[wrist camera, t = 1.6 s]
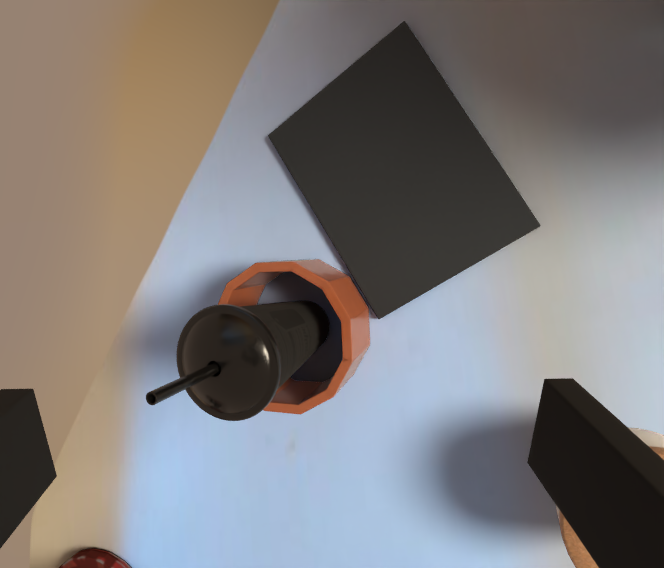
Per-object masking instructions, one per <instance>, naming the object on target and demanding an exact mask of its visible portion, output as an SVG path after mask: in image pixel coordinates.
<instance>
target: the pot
mask: <svg viewBox="0 0 664 568" xmlns="http://www.w3.org/2000/svg"><path fill="white" fill-rule="evenodd" d="M288 271H292V272H293V273H295V274H297V275H298V276H300V277H302V278H304V279H305V280H307V281H309V282H310V283H312V284H314V285H315V286H317V287H319V288H321V289H322V290H323V292H324V294H325V295H326V297H327V299H328V300H329V302H330V304H331V305H332V307H333V309H334V311H335V312H336V314H337V316H338V317H339V319H340V321H341V331H342V355H343V359H342V361H341V363H340V365H339V367H338V369H337V370H336V372H335V374H334V376H333V377H331V378H329V379H327V380H325V381H324V382H314V381H300V380H293V379H292V378H289V379H288V380H287V381H286V382H285V383H284V384H283V385H282V386H281V387H280V388H279V389H278V390H277V392H276V394H275V396H274V398H273V399H272V401H271V402H270V403H269V404H268V406H267V407H265V408H264V409H263V410H264V411H272V412H282V413H292V414H302V413H304V412H306V411H308V410H310V409H312V408H314V407H316V406H317V405H319V404H321V403H323V402H325V401H327V400H329V399H331V398H333V397H334V396H335V395H336V394H337V393H338V391H339V390H340V389H341V388H342V387H343V386H344V385H345V384H346V383H347V381H348V380H349V379H350V378H351V377H352V376H353V375H354V373H355V371H356V369H357V368H358V366H359V364H360V362H361V360H362V359H363V357H364V355H365V353H366V351H367V349H368V348H369V346H370V329H369V308H368V306H367V305H366V303H365V301H364V300H363V298H362V296H361V295H360V293H359V291H358V290H357V288H356V286H355V285H354V283H353V281H352V280H351V278H350V277H349V276H348V275H346V274H344V273H342V272H341V271H339V270H337V269H335V268H334V267H332V266H330V265H328V264H326V263H325V262H323V261H321V260H319V259H314V260H287V261H273V262H260V263H255V264H253V265H252V266H251V267H249V268H248V269H246V270H245V271H244V272H242V273H241V274H239V275H238V276H237V277H235V278H234V279H233V280H231V281H230V282H228V283H227V284H226V287H225V289H224V291H223V294H222V296H221V298H220V301H219V303H218V305H219V304H230V305H236V306H239V307H240V306H251V305H257V303H258V300H259V298H260V296H261V294H262V292H263V289H264V287H265V285H266V284H267V283H269V282H270V281H272V280H273V279H275V278H276V277H277V276H279V275H280V274H282V273H283V272H288Z"/></svg>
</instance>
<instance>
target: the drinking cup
mask: <svg viewBox="0 0 664 568" xmlns="http://www.w3.org/2000/svg"><path fill="white" fill-rule="evenodd" d="M328 334H329V320H328V317H327V315H326V313H325V312H324V310H323V309H322V308H321V307H320V306H319V305H317V304H316V303H313V302H311V301H295V302H284V303H273V304H262V305H251V306H240V307H239V306H236V305H230V304H219V305H214V306H210V307H207V308H204V309H202V310H201V311H199V312H198V313H196V314H195V315H194V316H193V317H192V318H191V319H190V320H189V321H188V322H187V324H186V325H185V327H184V328H183V330H182V333H181V335H180V338H179V341H178V346H177V367H178V372H179V376H180V378H179V379H177V380H175V381H173V382H171V383H168V384H166V385H164V386H162V387H159V388H157V389H155V390H153V391H151V392H148V393H147V395H146V400H147V402H148V403H149V404H150V405H155V404H157V403H159V402H161V401H163V400H165V399H167V398H169V397H171V396H173V395H175V394H177V393H179V392H181V391H183V390H186V391H187V393H188V395H189V396H190V397H191V399H192V400H193V401H194V402H195V403H196V404H197V405H198V406H199V407H200V408H201V409H202V410H204V411H205V412H207V413H208V414H210V415H212V416H214V417H216V418H219V419H223V420H228V421H239V420H245V419H248V418H251V417H253V416H255V415H257V414H258V413H259V412H261V411H262V410H263V409H264V408H265V407H267V406H268V404H269V403H270V402H271V401H272V399H273V398H274V396H275V394H276V392H277V390H278V389H279V388H280V387H281V386H282V385H283V384H284V383H285V382H286V381H287V380H288V379H289V378H290V377H291V376H292V375H293V374H294V373H295V371H296V370H297V369H298V368H299V367H300V366H301V365H302V364H303V363H304V362H305V361H306V360H307V359H308V358H309V357H310V356H311V355H312V354H313V353H314V352H315V351H316V350H317V349H318V348H319V347H320V346H321V345H322V344H323V343H324V342H325V340H326V339H327V337H328Z"/></svg>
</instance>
